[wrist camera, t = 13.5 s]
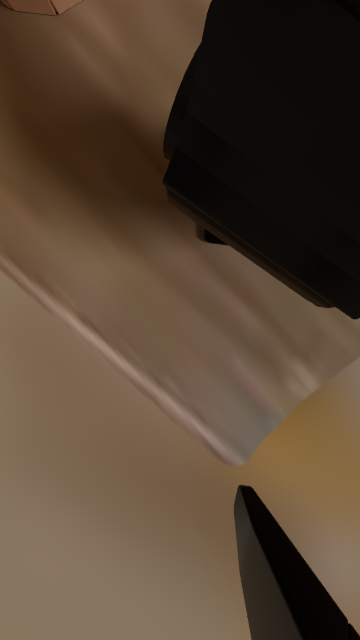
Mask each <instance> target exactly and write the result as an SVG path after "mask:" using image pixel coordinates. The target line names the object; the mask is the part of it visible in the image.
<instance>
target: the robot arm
mask: <svg viewBox="0 0 360 640" xmlns="http://www.w3.org/2000/svg"><path fill="white" fill-rule="evenodd" d="M163 152H164V156H165V157H166V158H167V159H168V160H169V161H170V164H169V166H168V169H167V171H166V174H165V177H164V179H163V184H164V185H165V186H166V188H167V196H168V201H169V202H170V203H171V204H173V205H174V206H176V208H177V209H178V210H180V211H181V212H183V213H184V214H185V215H187V216H188V217H190V218H191V219H193V220H194V221H195V222H197V223H198V224H200V225H201V226H202V227H204V228H205V233H204V239H205V241H206V242H208V243H212V244H220V245H228V246H231V247H232V248H234V249H235V250H236V251H238V252H239V253H241V254H242V255H243V256H245V257H246V258H248V259H249V260H251V261H252V262H253V263H255V264H256V265H258V266H259V267H260V268H262V269H263V270H265V271H266V272H268V273H269V274H270V275H272V276H273V277H275V278H276V279H277V280H279V281H280V282H282V283H283V284H285V285H286V286H287V287H289V288H290V289H292V290H293V291H294V292H296V293H297V294H299V295H300V296H302V297H303V298H304V299H306V300H307V301H310V302H311V303H313V304H314V305H316V306H318V307H324V308H332V307H336V308H338V309H339V310H341V311H342V312H343V313H345V314H346V315H348V316H349V317H350V318H352V319H358V318H360V0H212V1H211V3H210V6H209V9H208V13H207V17H206V22H205V27H204V32H203V37H202V42H201V44H200V45H199V47H198V49H197V50H196V52H195V54H194V56H193V58H192V60H191V62H190V64H189V66H188V68H187V70H186V72H185V75H184V77H183V80H182V82H181V84H180V87H179V89H178V92H177V94H176V97H175V100H174V103H173V106H172V109H171V112H170V116H169V119H168V123H167V127H166V131H165V137H164V145H163ZM209 233H212V234H214V238H213V239H209V238H208V234H209ZM234 517H235V528H236V539H237V549H238V560H239V570H240V576H241V583H242V588H243V594H244V599H245V605H246V611H247V617H248V622H249V628H250V633H251V639H252V640H360V636H359V634H358V633H357V632H356V630H355V629H354V627H353V626H352V625H351V624H350V623H349V624H348V620H347V618H346V617H345V615H344V614H343V612H342V611H341V610H340V608H339V607H338V606H337V604H336V603H335V601H334V600H333V599H332V597H331V596H330V594H329V593H328V592H327V590H326V589H325V588H324V586H323V585H322V583H321V582H320V581H319V579H318V578H317V576H316V575H315V574H314V572H313V571H312V570H311V568H310V567H309V565H308V564H307V563H306V561H305V560H304V558H303V557H302V556H301V554H300V553H299V552H298V550H297V549H296V547H295V546H294V545H293V543H292V542H291V541H290V539H289V538H288V536H287V535H286V534H285V532H284V531H283V529H282V528H281V527H280V525H279V524H278V522H277V521H276V520H275V518H274V517H273V516H272V514H271V513H270V511H269V510H268V509H267V507H266V506H265V505H264V503H263V502H262V501H261V499H260V498H259V496H258V495H257V493H256V492H255V491H254V489H253V488H252V487H250V486H245V485H239V486H238V489H237V494H236V498H235V503H234Z"/></svg>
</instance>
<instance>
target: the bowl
mask: <svg viewBox="0 0 360 640" xmlns="http://www.w3.org/2000/svg"><path fill="white" fill-rule="evenodd" d="M1 1H2V2H3V3H4V4H5V5H7V6H8V7H9V8H10V9H11V8H13V9H14V11H21V12H30V13H39V14H47V15H56V12H58V13H59V15H60V14H61V13H63V12H64V11H66V10H67V9H69V8H71V7H72V6H74V5H75V4H77V3H79V2H80V1H82V0H1Z"/></svg>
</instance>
